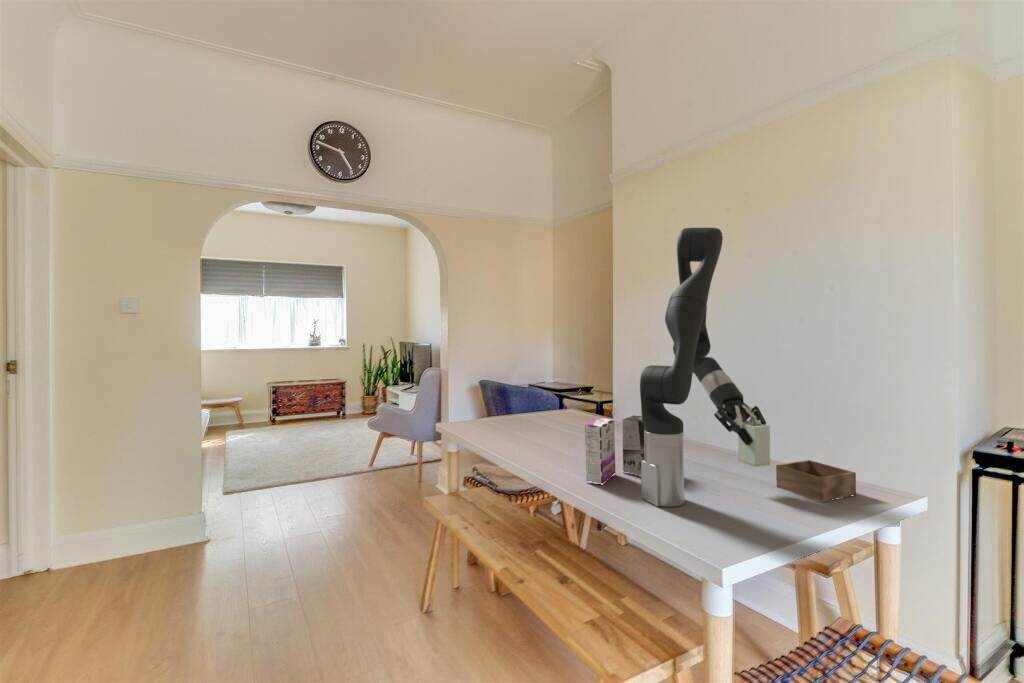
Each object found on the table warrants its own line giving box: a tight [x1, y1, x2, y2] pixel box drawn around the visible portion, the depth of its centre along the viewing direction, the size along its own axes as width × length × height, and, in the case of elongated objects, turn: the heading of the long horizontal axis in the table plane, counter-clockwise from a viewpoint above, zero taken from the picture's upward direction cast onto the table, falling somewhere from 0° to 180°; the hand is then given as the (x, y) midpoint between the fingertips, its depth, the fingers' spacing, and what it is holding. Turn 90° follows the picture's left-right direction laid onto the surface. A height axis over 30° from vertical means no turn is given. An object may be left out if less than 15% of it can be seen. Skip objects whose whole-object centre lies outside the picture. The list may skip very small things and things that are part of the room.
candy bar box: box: [584, 417, 616, 483], centre depth 125 cm, size 11×5×16 cm, turn 148°
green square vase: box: [737, 422, 771, 468], centre depth 112 cm, size 5×5×10 cm
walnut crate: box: [775, 459, 857, 503], centre depth 113 cm, size 12×12×6 cm
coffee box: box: [622, 414, 644, 476], centre depth 132 cm, size 9×6×16 cm
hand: (758, 442), depth 111 cm, fingers closed on green square vase, 5 cm apart
